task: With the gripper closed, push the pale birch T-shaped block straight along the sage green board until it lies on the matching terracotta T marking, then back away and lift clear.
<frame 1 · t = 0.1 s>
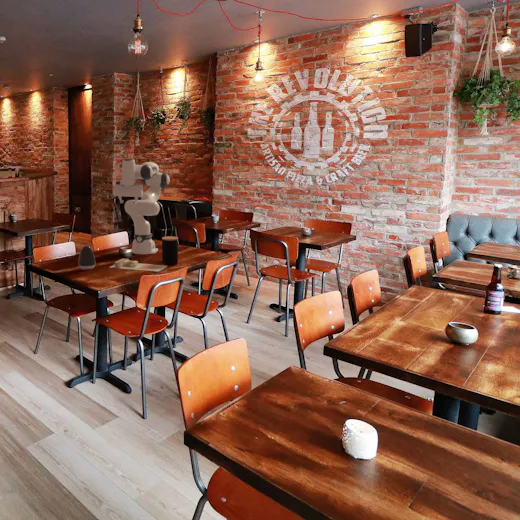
hand: (128, 203, 314), 39 cm above the table, tool pointing down, fingers open, 8 cm apart
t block: (127, 265, 300), point 1 cm above the table, touching target board
dark egg shaped speaker: (87, 269, 291), on the table
coffee jar: (170, 264, 314), on the table
target board: (138, 268, 299), on the table
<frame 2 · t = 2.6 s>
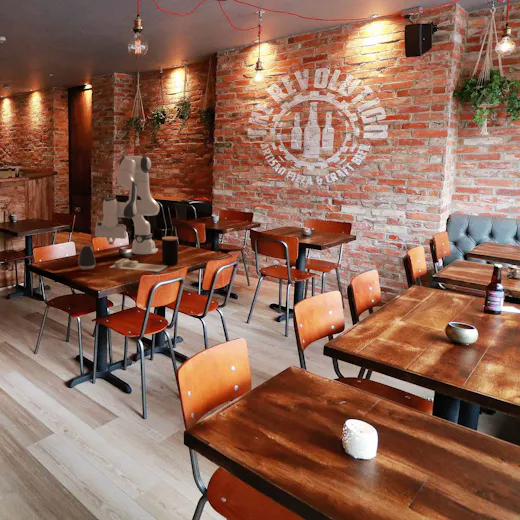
hand: (111, 244, 299), 14 cm above the table, tool pointing down, fingers closed
nothing on the table moved.
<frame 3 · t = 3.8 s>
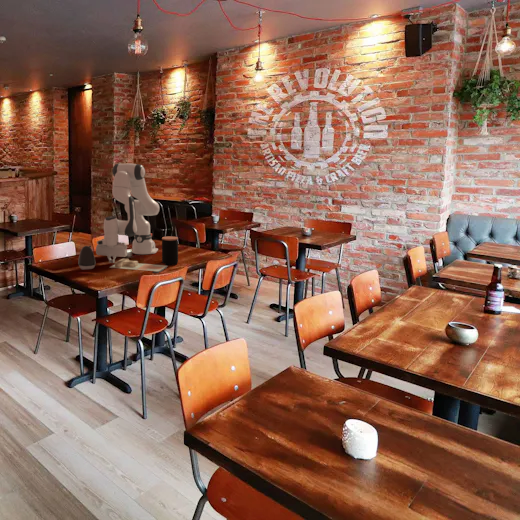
hand: (112, 262, 301), 2 cm above the table, tool pointing down, fingers closed
nothing on the table moved.
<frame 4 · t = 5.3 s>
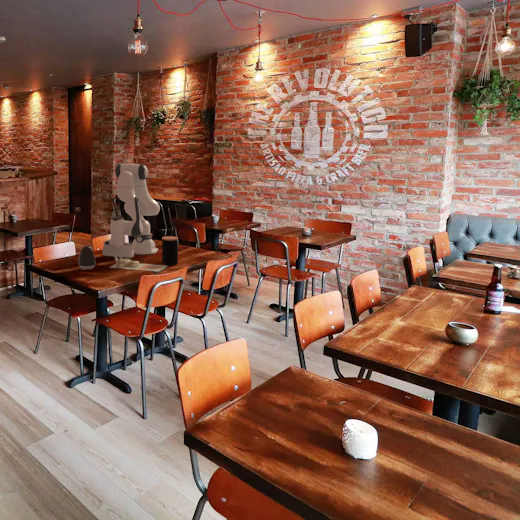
hand: (118, 263, 301), 2 cm above the table, tool pointing down, fingers closed
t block: (129, 265, 300), point 1 cm above the table, touching gripper, target board
everything else where it was.
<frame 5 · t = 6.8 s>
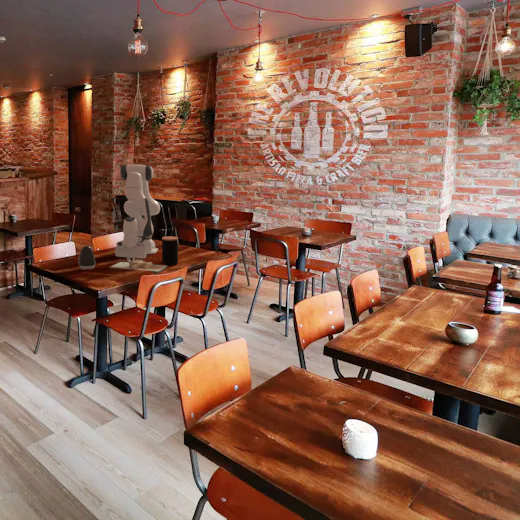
hand: (131, 264, 299), 2 cm above the table, tool pointing down, fingers closed
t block: (142, 266, 298), point 1 cm above the table, touching gripper, target board
everything else where it was.
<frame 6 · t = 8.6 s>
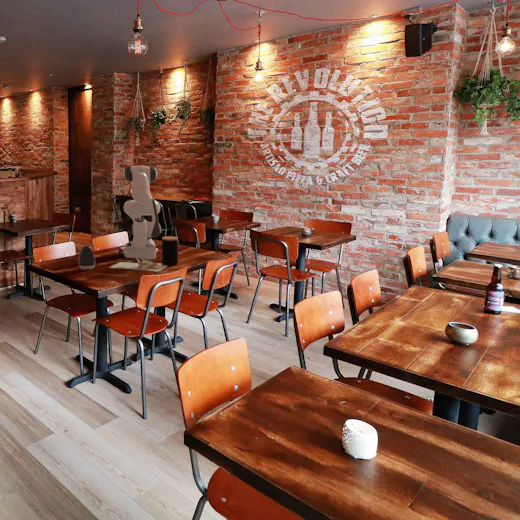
hand: (140, 264, 298), 2 cm above the table, tool pointing down, fingers closed
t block: (151, 267, 297), point 1 cm above the table, touching gripper, target board
everything else where it was.
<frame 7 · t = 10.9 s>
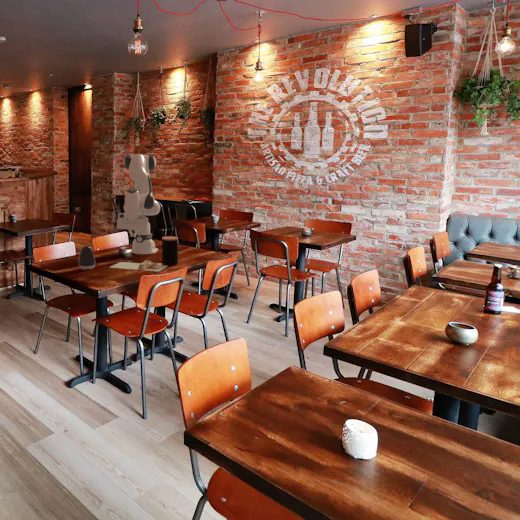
hand: (133, 236, 297), 20 cm above the table, tool pointing down, fingers closed
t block: (151, 267, 297), point 1 cm above the table, touching target board
everything else where it was.
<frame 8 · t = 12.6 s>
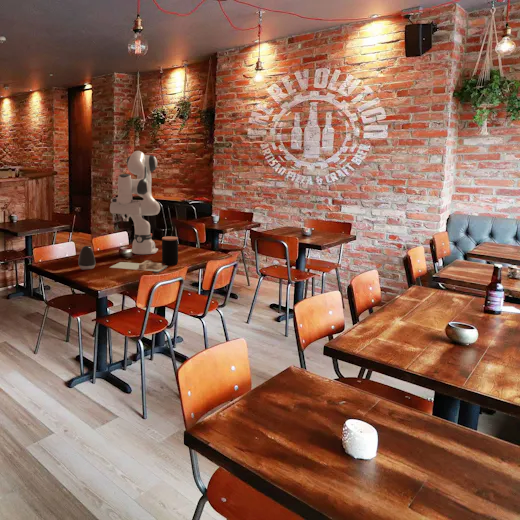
hand: (125, 221, 301), 29 cm above the table, tool pointing down, fingers closed
nothing on the table moved.
at the end: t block 0.2 cm from the target spot on the target board, point 1.2 cm above the target board's base; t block tilted 0°; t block moved 16.2 cm from its start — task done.
